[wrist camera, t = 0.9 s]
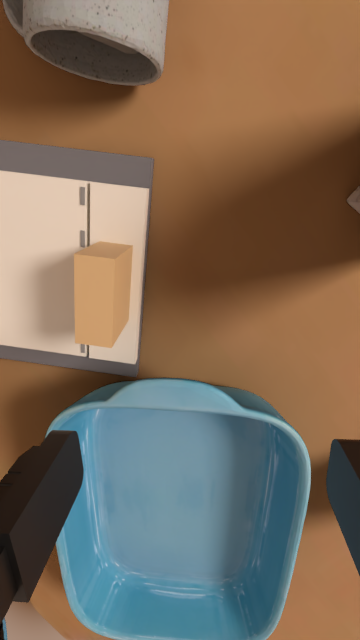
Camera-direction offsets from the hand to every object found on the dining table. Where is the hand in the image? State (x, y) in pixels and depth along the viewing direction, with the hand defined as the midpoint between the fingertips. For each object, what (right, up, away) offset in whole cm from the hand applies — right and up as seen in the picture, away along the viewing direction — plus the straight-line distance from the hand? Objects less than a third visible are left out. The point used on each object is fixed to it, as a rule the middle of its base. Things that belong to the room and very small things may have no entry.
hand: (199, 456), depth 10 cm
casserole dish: (-1, -14, +26) cm, 30 cm away
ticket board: (-10, +9, +17) cm, 22 cm away
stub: (-6, +8, +16) cm, 18 cm away
